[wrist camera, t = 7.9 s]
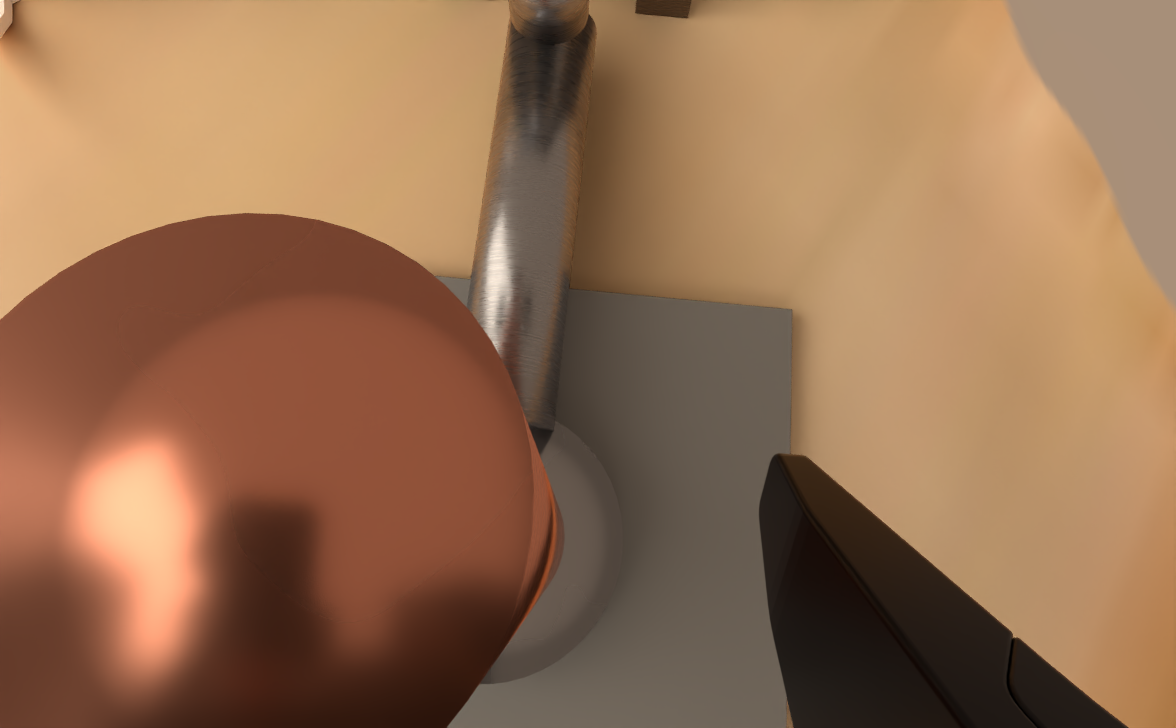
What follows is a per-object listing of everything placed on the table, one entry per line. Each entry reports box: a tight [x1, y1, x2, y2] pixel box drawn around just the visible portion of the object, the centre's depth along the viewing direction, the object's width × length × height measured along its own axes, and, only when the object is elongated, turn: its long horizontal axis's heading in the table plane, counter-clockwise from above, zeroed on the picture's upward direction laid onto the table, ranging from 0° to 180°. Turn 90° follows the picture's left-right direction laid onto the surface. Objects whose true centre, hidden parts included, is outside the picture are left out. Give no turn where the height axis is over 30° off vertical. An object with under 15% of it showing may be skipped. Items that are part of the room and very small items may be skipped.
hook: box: [0, 0, 623, 728], centre depth 11 cm, size 17×6×13 cm, turn 175°
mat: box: [435, 276, 792, 728], centre depth 16 cm, size 12×14×1 cm
